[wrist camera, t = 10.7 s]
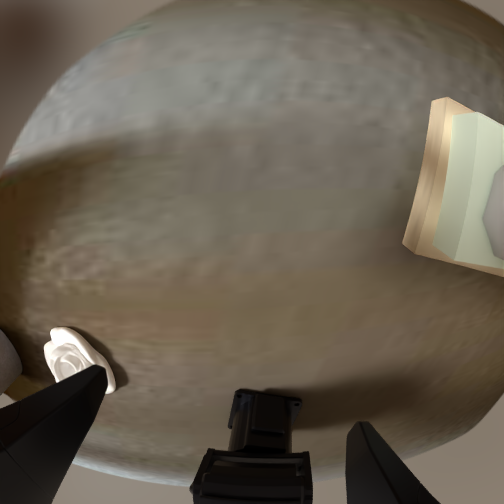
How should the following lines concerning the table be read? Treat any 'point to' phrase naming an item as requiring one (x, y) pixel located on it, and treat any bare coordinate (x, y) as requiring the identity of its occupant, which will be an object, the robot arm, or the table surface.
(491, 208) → the flask
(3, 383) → the pillar candle
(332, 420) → the table surface
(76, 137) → the table surface
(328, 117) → the table surface
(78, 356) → the rose
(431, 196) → the tower base
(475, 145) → the tower top
